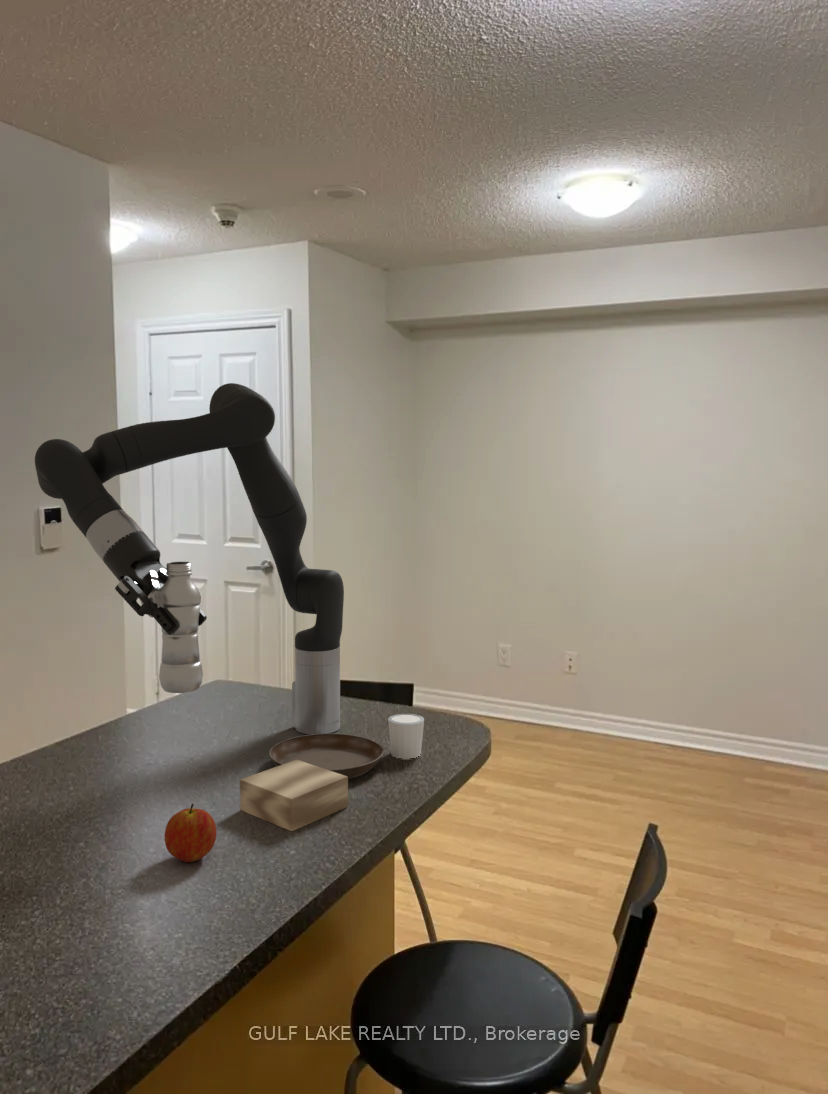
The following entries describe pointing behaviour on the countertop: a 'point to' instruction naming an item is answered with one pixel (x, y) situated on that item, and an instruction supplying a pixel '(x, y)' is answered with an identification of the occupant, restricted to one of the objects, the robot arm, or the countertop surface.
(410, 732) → the white cup
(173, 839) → the fruit
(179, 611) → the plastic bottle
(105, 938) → the countertop surface
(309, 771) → the block
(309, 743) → the plant saucer
